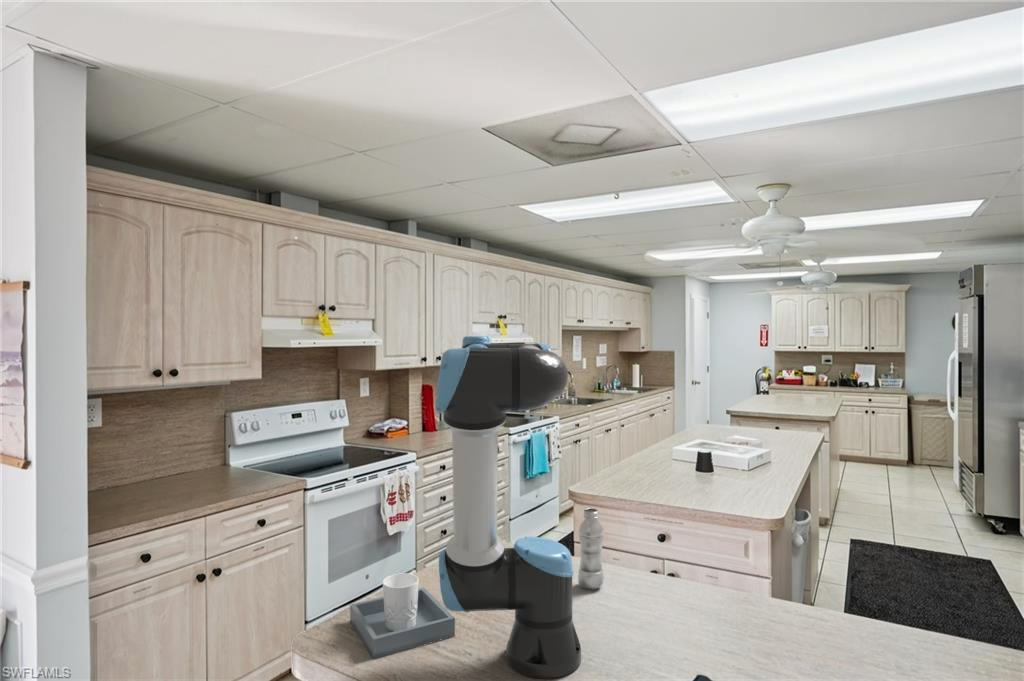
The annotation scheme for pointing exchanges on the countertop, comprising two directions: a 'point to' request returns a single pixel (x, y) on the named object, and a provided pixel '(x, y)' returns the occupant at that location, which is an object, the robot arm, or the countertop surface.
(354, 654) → the countertop surface
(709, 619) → the countertop surface
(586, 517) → the plastic bottle
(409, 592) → the white cup
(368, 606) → the bin
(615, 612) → the countertop surface
